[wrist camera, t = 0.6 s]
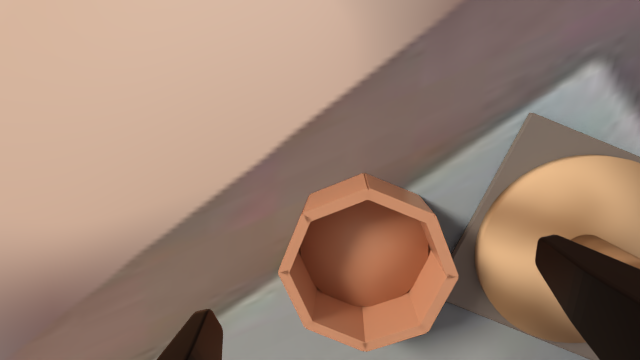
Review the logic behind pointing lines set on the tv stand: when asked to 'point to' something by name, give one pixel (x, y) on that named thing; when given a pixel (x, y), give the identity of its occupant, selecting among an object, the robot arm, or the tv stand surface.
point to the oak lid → (555, 219)
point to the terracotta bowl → (367, 264)
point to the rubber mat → (524, 155)
